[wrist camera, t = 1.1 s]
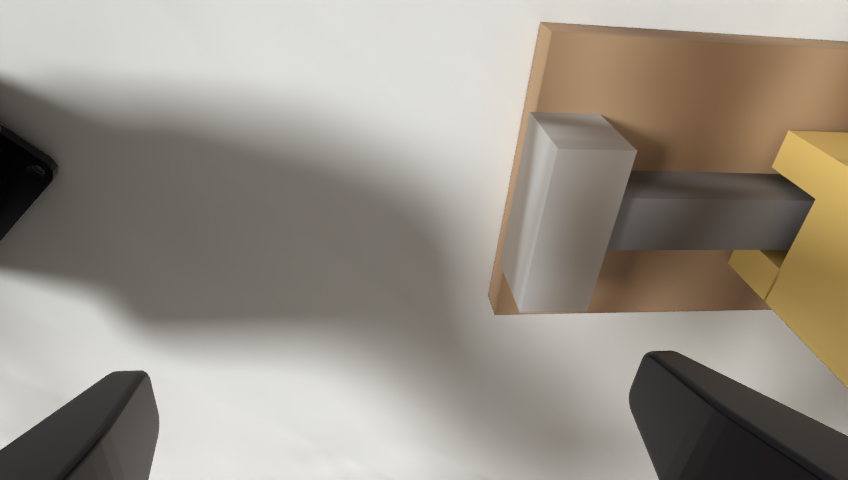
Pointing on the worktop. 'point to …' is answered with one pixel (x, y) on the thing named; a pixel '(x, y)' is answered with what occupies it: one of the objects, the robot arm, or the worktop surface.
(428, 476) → the worktop surface
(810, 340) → the yellow rectangular block
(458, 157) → the worktop surface
